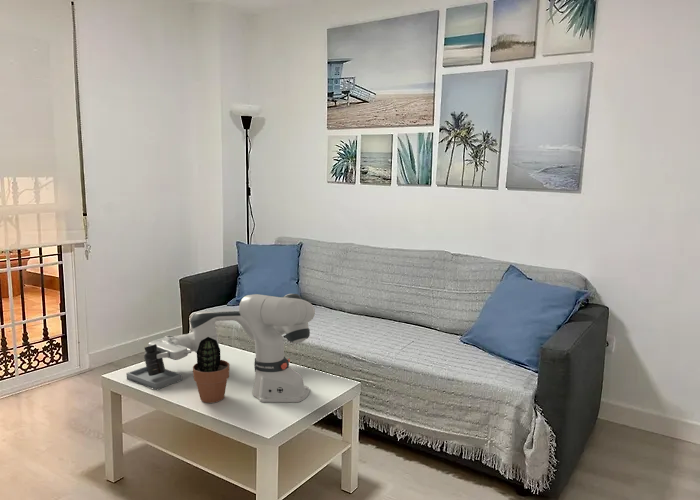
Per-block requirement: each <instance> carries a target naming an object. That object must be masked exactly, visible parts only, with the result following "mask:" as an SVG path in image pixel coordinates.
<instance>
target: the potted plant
mask: <svg viewBox="0 0 700 500" xmlns="http://www.w3.org/2000/svg"><path fill="white" fill-rule="evenodd" d="M192 375H193V381H194V382H195V383H196V387H197V391H198V394H199V395H198V396H199V399H200V401H201V402H202V403H207V404H212V403H214V404H215V403H218V402H221V401H222V400H224V398H225V395H226V389H227V388H226V387H227V383H228V379H229V378H230V362H228V361H226V360H223V359H221V348H220V345H218V343H217V341H216V340H214V339H212V338H210V337H207V338H205V339H203V340H201V342H200V344H199V347H198V350H197V353H196V363H195V364H194V365H193V366H192Z"/></svg>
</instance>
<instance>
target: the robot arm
mask: <svg viewBox="0 0 700 500" xmlns="http://www.w3.org/2000/svg"><path fill="white" fill-rule="evenodd" d="M315 310H316V309H315V307H314V306H313V304H312V303H311V302H309V301H307V300H305V299H303V297H301V295H299V294H298V293H288V294H285V295H284V296H281V297H280V296H272V295H266V294H257V293H253V294H247V295H245V296H243V297H242V298H241V300H240V302H239V305H238V310H237V311H235V310H233V311H231V310H230V311H206V310H204V311H198V312H195V313H194V314H193V315H192V317H191V319H190V322H189V323H190V325H191V328H192V331H190V332H189V333H185V334H184V333H183V334H180V335H179V334H177V335H165V336H164V337H161V338H158V339H154V340H151V341H150V342H148V344H147V346H150V345H154V344H156V345H157V350H159V351H160V352H161V353H158V354H156V358H157V359H160V358H163V359H171V360H173V361H178V360H181V359H183V358H186V357H187V356H188V355H189V354H191V353H192V352H195V353H196V354H197V350H198V347H199V344H200V342H201V340H203V339H205V338H207V337H210V338H212V339H214V340H216V341H217V343H218V345H219V337H218V333H217V328H216V322H222V321H224V322H226V321H229V322H230V321H234V322H237V323H238V325H240V326H241V328H242V330H243V332H244V333H245V334H246V336H247V337H248V338H249V339H250V340H252V341H254V347H255V348H254V349H255V351H254V352H255V358H254V363H253V365H254V373H255V375H254V383H253V388H252V392H251V394H252V396H254V398H257V399H258V401H259V402H260V403H261V402H262V403H299V402H302V401H304V400H306V398H307V397H308V396H309V394H310V393H311V392H310V388H309V386H308V385H305V383H304V379H303V376H302V374H300V373H299V372H297V371H296V370H294V369H293V368H292V367H290V362H291V359H290V358H288V359H287V358H286V356H285V342H284V341H285V339H286V340H287V341H288V342H289V343H292V344H293V343H294V344H298V343H299V344H300V343H302V342H305V341H306V340H307V339H309V337H310V333H311V332H310V331H311V330H310V328H309V327H310V326H309V323H310V322H311V321H312V320H313V319H314V317H315V314H316V311H315ZM219 346H220V345H219ZM145 354H146V352H145V351H144V355H145Z"/></svg>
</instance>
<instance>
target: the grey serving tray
mask: <svg viewBox="0 0 700 500" xmlns="http://www.w3.org/2000/svg"><path fill="white" fill-rule="evenodd" d="M182 378H183V377H182V374H181V373H178V372H175V371H173V370H169V369H167V368H165V372H163V373H160V374H157V375H153V376H149V375H148V371H147V367H146V366H143V367H141V368H138V369H134V370H132V371H129V372H126V379H127V380H128V381H132V382H133V383H136V382H137V383H136V384H139V385H142V386H144V387H148V388H150V389H152V388H153V390H154V391H155V390H156V391H157V389H158V390H160V389H162V388H165V387H167V386H170V385H172V384H175V383H178V382H182V380H183V379H182Z"/></svg>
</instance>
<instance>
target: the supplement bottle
mask: <svg viewBox="0 0 700 500" xmlns="http://www.w3.org/2000/svg"><path fill="white" fill-rule="evenodd" d="M145 352H146V354H145ZM158 353H161V352H160V351H159V350H157V345H156V344H154V345H150V346H148V345H147V346H144V356H143V358H144V362H145V367H147V371H148V375H149V376H153V375H157V374H160V373H163V372H165V369H166V368H165V363H164V358H160V359H157V358H156V354H158Z"/></svg>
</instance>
